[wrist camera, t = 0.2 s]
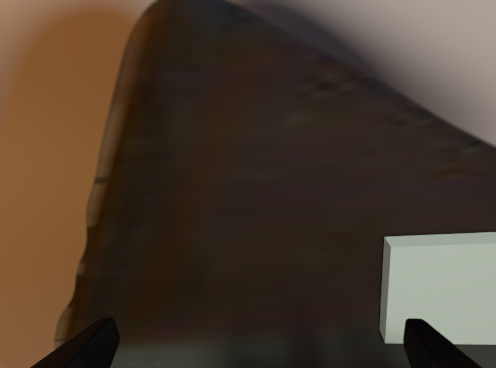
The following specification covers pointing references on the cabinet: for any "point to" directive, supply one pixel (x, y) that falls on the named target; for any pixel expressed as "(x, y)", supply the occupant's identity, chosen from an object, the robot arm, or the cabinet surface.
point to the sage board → (440, 286)
